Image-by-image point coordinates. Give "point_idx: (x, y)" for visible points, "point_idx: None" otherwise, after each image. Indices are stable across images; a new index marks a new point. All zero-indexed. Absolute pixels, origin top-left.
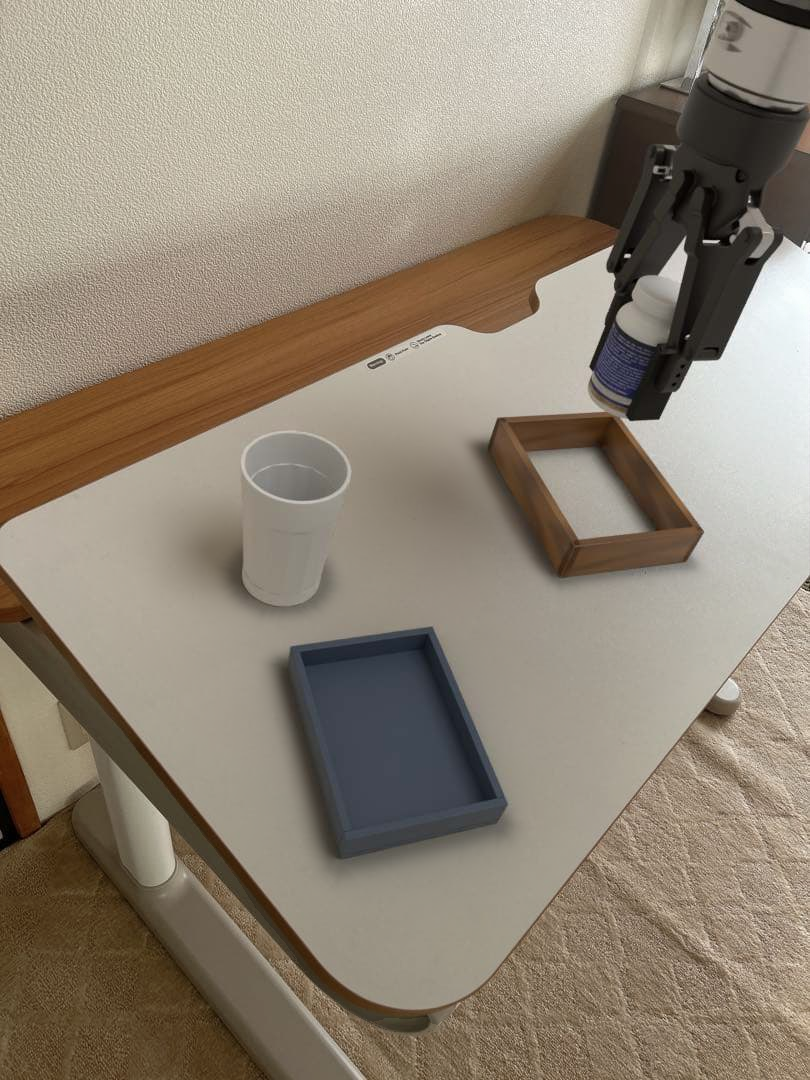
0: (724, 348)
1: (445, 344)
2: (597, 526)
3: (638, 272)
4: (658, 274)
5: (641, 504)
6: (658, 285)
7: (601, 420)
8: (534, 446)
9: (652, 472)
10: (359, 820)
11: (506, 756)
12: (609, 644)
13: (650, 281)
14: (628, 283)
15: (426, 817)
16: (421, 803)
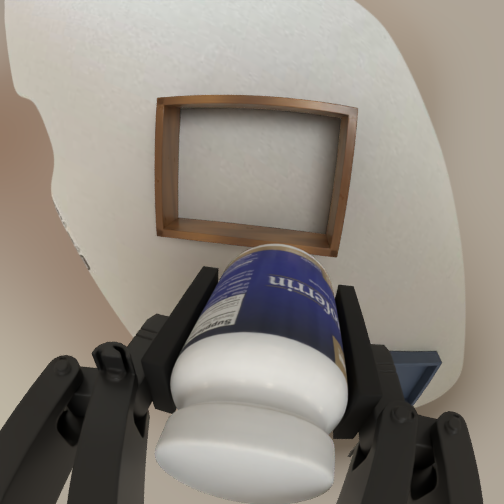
0: (469, 440)
1: (60, 199)
2: (285, 170)
3: (142, 457)
4: (126, 424)
5: (269, 109)
6: (213, 483)
7: (165, 117)
8: (175, 182)
9: (258, 104)
10: (403, 394)
11: (419, 337)
12: (398, 241)
13: (195, 482)
14: (146, 431)
15: (424, 388)
16: (413, 376)
